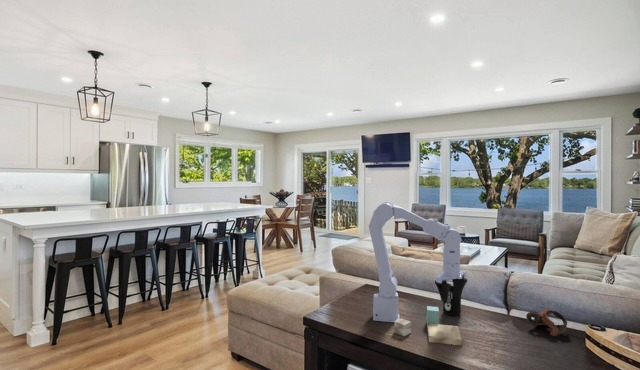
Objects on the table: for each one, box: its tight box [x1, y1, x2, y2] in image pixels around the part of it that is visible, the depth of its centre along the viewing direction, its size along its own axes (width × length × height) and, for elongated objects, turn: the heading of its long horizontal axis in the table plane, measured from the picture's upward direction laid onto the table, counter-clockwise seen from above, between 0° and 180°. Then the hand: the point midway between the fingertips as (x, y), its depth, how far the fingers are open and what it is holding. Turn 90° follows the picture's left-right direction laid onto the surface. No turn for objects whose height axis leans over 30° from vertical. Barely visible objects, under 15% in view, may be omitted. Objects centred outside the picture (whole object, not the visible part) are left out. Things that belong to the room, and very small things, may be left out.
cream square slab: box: [427, 323, 463, 346], centre depth 116 cm, size 10×10×2 cm
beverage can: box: [442, 280, 462, 317], centre depth 136 cm, size 7×7×12 cm
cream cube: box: [393, 317, 412, 337], centre depth 119 cm, size 4×4×4 cm
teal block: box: [426, 305, 440, 328], centre depth 125 cm, size 4×4×6 cm
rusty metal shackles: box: [525, 309, 568, 337], centre depth 120 cm, size 12×10×8 cm
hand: (450, 299), depth 125 cm, fingers open, 7 cm apart
